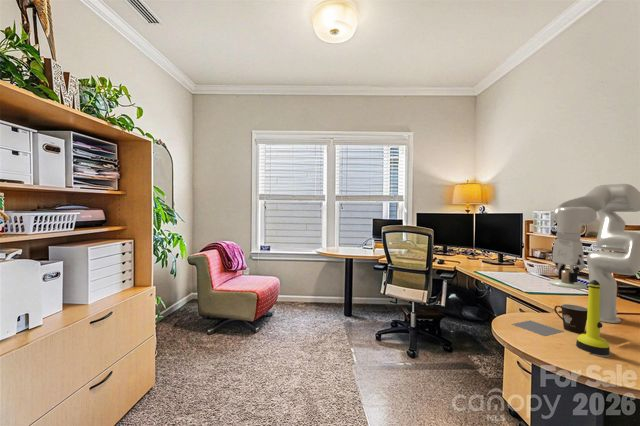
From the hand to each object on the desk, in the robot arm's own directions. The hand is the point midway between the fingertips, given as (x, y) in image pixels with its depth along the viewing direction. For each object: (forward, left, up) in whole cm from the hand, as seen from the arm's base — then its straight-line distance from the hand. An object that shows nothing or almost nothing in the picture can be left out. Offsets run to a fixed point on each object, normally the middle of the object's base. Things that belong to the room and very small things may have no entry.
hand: (567, 280), depth 124 cm
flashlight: (+14, +15, -21) cm, 29 cm away
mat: (+11, -5, -21) cm, 24 cm away
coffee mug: (-2, +1, -21) cm, 21 cm away
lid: (0, 0, -2) cm, 2 cm away
